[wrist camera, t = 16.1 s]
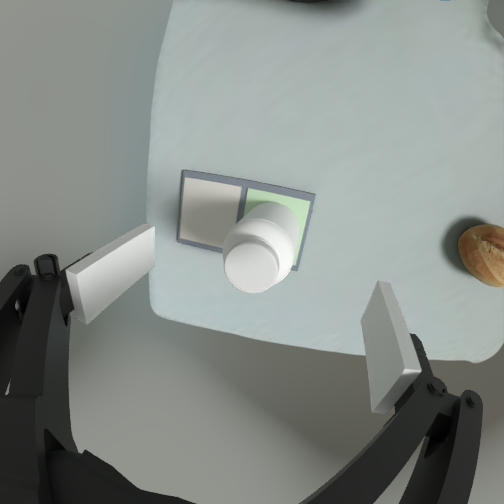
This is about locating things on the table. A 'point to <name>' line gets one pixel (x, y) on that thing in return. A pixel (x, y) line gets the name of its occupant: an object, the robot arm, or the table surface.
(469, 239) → the bread roll
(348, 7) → the table surface
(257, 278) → the pill bottle
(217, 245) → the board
